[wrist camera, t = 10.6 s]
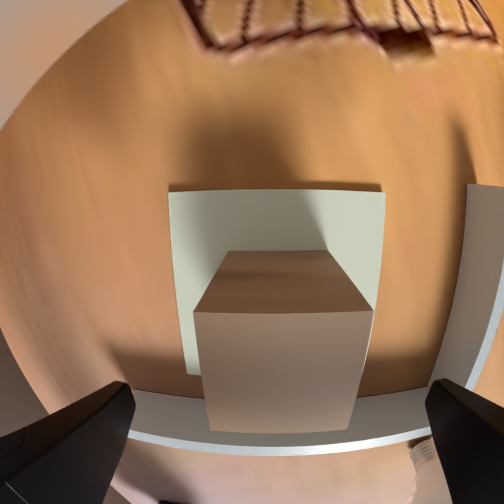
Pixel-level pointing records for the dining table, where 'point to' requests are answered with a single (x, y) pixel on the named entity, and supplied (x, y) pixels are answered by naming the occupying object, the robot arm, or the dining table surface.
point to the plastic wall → (373, 407)
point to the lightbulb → (429, 475)
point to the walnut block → (281, 342)
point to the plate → (270, 238)
